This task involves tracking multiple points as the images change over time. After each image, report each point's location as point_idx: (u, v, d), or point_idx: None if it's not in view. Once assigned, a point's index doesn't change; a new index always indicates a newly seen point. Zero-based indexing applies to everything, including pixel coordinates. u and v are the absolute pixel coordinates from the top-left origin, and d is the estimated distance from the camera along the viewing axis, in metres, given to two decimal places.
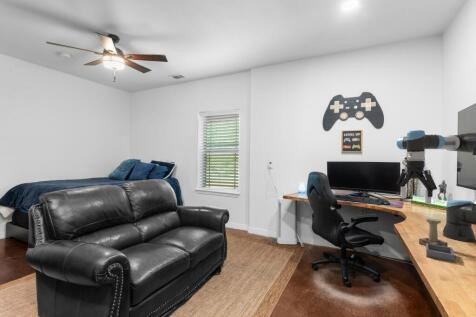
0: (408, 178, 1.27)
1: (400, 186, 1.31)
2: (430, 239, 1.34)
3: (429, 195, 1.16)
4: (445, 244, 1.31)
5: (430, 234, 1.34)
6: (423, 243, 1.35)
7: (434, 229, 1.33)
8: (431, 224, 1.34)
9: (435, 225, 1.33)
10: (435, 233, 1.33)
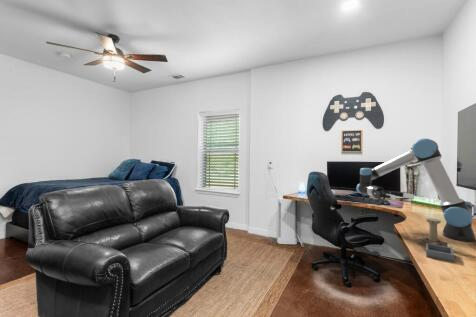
0: (392, 194, 1.55)
1: None
2: (430, 239, 1.34)
3: (388, 197, 1.45)
4: (445, 244, 1.31)
5: (430, 234, 1.34)
6: (423, 243, 1.35)
7: (434, 229, 1.33)
8: (431, 224, 1.34)
9: (435, 225, 1.33)
10: (435, 233, 1.33)
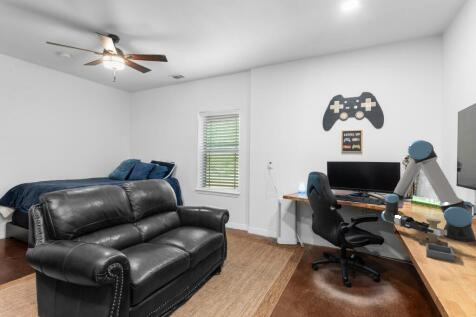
0: None
1: None
2: (430, 239, 1.34)
3: None
4: (445, 244, 1.31)
5: (430, 234, 1.34)
6: (423, 243, 1.35)
7: None
8: (431, 224, 1.34)
9: (435, 225, 1.33)
10: None
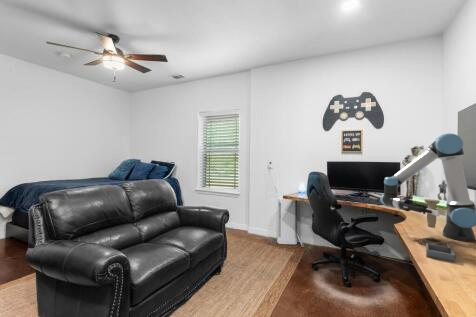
0: None
1: None
2: (428, 220, 1.30)
3: (429, 212, 1.28)
4: (445, 244, 1.31)
5: (428, 215, 1.30)
6: (423, 243, 1.35)
7: None
8: (429, 204, 1.29)
9: (433, 205, 1.28)
10: None
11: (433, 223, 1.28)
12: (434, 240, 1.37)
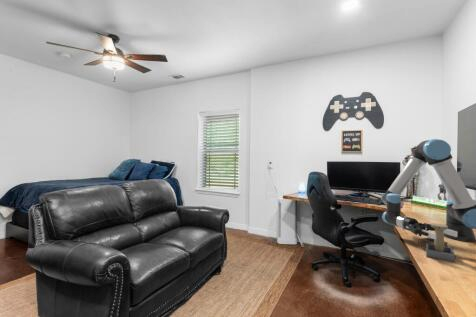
0: (429, 229, 1.30)
1: None
2: (436, 247, 1.22)
3: None
4: (445, 244, 1.31)
5: (436, 241, 1.21)
6: (423, 243, 1.35)
7: (440, 236, 1.20)
8: (437, 230, 1.21)
9: (441, 231, 1.20)
10: (441, 240, 1.20)
11: (441, 250, 1.20)
12: None
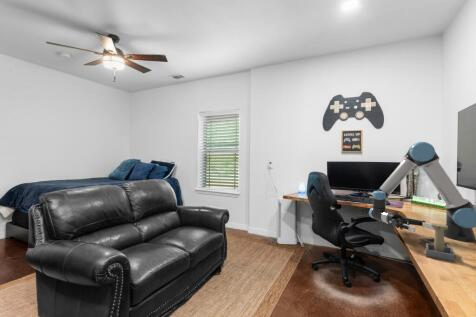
0: (410, 223, 1.41)
1: None
2: (436, 247, 1.22)
3: (406, 228, 1.31)
4: (445, 244, 1.31)
5: (436, 241, 1.21)
6: (423, 243, 1.35)
7: (440, 236, 1.20)
8: (437, 230, 1.21)
9: (441, 231, 1.20)
10: (441, 240, 1.20)
11: (441, 250, 1.20)
12: None
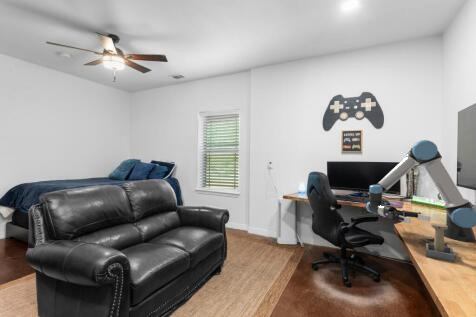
0: (406, 215, 1.43)
1: None
2: (436, 247, 1.22)
3: (401, 220, 1.34)
4: (445, 244, 1.31)
5: (436, 241, 1.21)
6: (423, 243, 1.35)
7: (440, 236, 1.20)
8: (437, 230, 1.21)
9: (441, 231, 1.20)
10: (441, 240, 1.20)
11: (441, 250, 1.20)
12: None
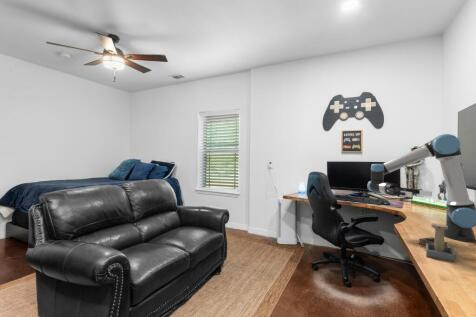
0: (407, 191, 1.43)
1: None
2: (436, 247, 1.22)
3: (403, 195, 1.33)
4: (445, 244, 1.31)
5: (436, 241, 1.21)
6: (423, 243, 1.35)
7: (440, 236, 1.20)
8: (437, 230, 1.21)
9: (442, 231, 1.20)
10: (442, 240, 1.20)
11: (441, 250, 1.20)
12: None
